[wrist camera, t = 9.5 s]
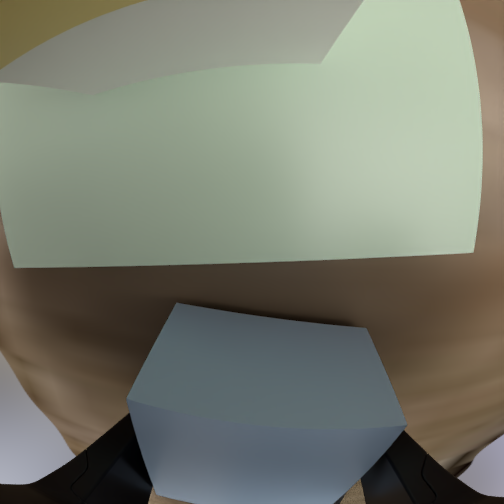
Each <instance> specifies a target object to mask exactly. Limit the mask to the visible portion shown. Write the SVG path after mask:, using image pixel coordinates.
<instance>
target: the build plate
mask: <svg viewBox="0 0 504 504" xmlns="http://www.w3.org/2000/svg"><path fill="white" fill-rule="evenodd" d="M482 160H483V142H482V118H481V105H480V95H479V86H478V79H477V72H476V66H475V60H474V55H473V50H472V45H471V41H470V36H469V32H468V28H467V24H466V21H465V17H464V14H463V10H462V7H461V4H460V1H459V0H364V1H363V2H362V4H361V5H360V6H359V8H358V9H357V11H356V12H355V14H354V15H353V16H352V18H351V19H350V21H349V22H348V24H347V25H346V27H345V28H344V29H343V31H342V32H341V34H340V35H339V37H338V38H337V40H336V41H335V43H334V44H333V46H332V47H331V49H330V50H329V52H328V53H327V55H326V56H325V58H324V59H323V61H322V62H321V64H307V63H282V64H256V65H242V66H230V67H221V68H212V69H205V70H198V71H191V72H185V73H179V74H174V75H168V76H163V77H159V78H154V79H149V80H145V81H141V82H137V83H133V84H129V85H125V86H121V87H118V88H114V89H111V90H107V91H104V92H101V93H98V94H94V95H89V94H84V93H79V92H73V91H67V90H61V89H55V88H48V87H41V86H33V85H24V84H14V83H2V82H0V210H1V215H2V221H3V225H4V230H5V235H6V239H7V243H8V247H9V251H10V255H11V258H12V262H13V265H14V268H50V267H109V266H154V265H191V264H225V263H255V262H284V261H310V260H335V259H358V258H380V257H401V256H422V255H441V254H459V253H473V251H474V246H475V240H476V233H477V226H478V218H479V209H480V199H481V186H482Z"/></svg>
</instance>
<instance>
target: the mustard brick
mask: <svg viewBox="0 0 504 504" xmlns="http://www.w3.org/2000/svg"><path fill="white" fill-rule="evenodd" d="M142 1H146V0H0V70H1V69H2V68H4V67H5V66H6V65H8V64H9V63H11V62H12V61H14V60H15V59H17V58H19V57H20V56H22V55H23V54H25V53H27V52H28V51H30V50H32V49H33V48H35V47H37V46H38V45H40V44H42V43H44V42H46V41H47V40H49V39H51V38H53V37H55V36H57V35H59V34H61V33H63V32H65V31H67V30H69V29H71V28H73V27H75V26H78V25H80V24H82V23H84V22H87V21H89V20H91V19H94V18H96V17H99V16H101V15H104V14H107V13H109V12H112V11H115V10H118V9H120V8H123V7H126V6H129V5H133V4H136V3H139V2H142Z"/></svg>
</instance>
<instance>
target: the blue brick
mask: <svg viewBox="0 0 504 504" xmlns="http://www.w3.org/2000/svg"><path fill="white" fill-rule="evenodd" d="M126 400H127V404H128V408H129V412H130V416H131V419H132V423H133V427H134V430H135V434H136V437H137V440H138V444H139V447H140V450H141V453H142V456H143V459H144V462H145V465H146V468H147V471H148V474H149V476H150V479H151V482H152V484H153V487H154V489H155V492H156V495H159V496H163V497H167V498H171V499H176V500H180V501H185V502H190V503H195V504H333V503H335V502H336V501H337V500H338V499H339V498H340V497H341V496H342V495H343V494H345V493H346V492H347V491H348V490H349V489H350V488H351V487H352V486H353V485H354V484H355V483H356V482H357V481H358V480H359V479H360V478H361V477H362V476H363V475H364V474H365V473H366V472H367V471H368V470H369V469H370V468H371V467H372V466H373V465H374V464H375V463H376V462H377V461H378V459H379V458H380V457H381V456H382V455H383V454H384V453H385V452H386V450H387V449H388V448H389V447H390V446H391V445H392V443H393V442H394V441H395V440H396V439H397V437H398V436H399V435H400V434H401V432H402V431H403V430H404V429H405V427H406V426H407V422H406V420H405V417H404V415H403V412H402V410H401V407H400V405H399V402H398V400H397V397H396V395H395V392H394V390H393V387H392V385H391V383H390V380H389V378H388V375H387V373H386V371H385V368H384V366H383V364H382V362H381V359H380V357H379V355H378V353H377V350H376V348H375V346H374V344H373V342H372V339H371V337H370V335H369V333H368V331H367V329H366V328H360V327H349V326H338V325H328V324H319V323H310V322H301V321H293V320H285V319H277V318H269V317H262V316H255V315H248V314H241V313H235V312H228V311H222V310H216V309H210V308H204V307H198V306H193V305H187V304H182V303H176V304H175V306H174V308H173V310H172V312H171V314H170V315H169V317H168V319H167V321H166V323H165V325H164V327H163V328H162V330H161V332H160V334H159V336H158V338H157V340H156V342H155V343H154V345H153V347H152V349H151V351H150V353H149V355H148V357H147V359H146V361H145V363H144V365H143V366H142V368H141V370H140V372H139V374H138V376H137V378H136V380H135V382H134V384H133V386H132V388H131V390H130V392H129V394H128V396H127V398H126Z"/></svg>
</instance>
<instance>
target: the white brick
mask: <svg viewBox="0 0 504 504" xmlns="http://www.w3.org/2000/svg"><path fill="white" fill-rule="evenodd" d="M363 1H364V0H146V1H142V2H139V3H136V4H133V5H129V6H126V7H123V8H120V9H118V10H115V11H112V12H109V13H107V14H104V15H101V16H99V17H96V18H94V19H91V20H89V21H87V22H84V23H82V24H80V25H78V26H75V27H73V28H71V29H69V30H67V31H65V32H63V33H61V34H59V35H57V36H55V37H53V38H51V39H49V40H47V41H46V42H44V43H42V44H40V45H38V46H37V47H35V48H33V49H32V50H30V51H28V52H27V53H25V54H23V55H22V56H20V57H19V58H17V59H15V60H14V61H12V62H11V63H9V64H8V65H6V66H5V67H4V68H2V69H1V70H0V82H2V83H14V84H24V85H33V86H41V87H48V88H55V89H61V90H67V91H73V92H79V93H84V94H89V95H94V94H98V93H101V92H104V91H107V90H111V89H114V88H118V87H121V86H125V85H129V84H133V83H137V82H141V81H145V80H149V79H154V78H159V77H163V76H168V75H174V74H179V73H185V72H191V71H198V70H205V69H212V68H221V67H230V66H242V65H256V64H282V63H307V64H321V62H322V61H323V59H324V58H325V56H326V55H327V53H328V52H329V50H330V49H331V47H332V46H333V44H334V43H335V41H336V40H337V38H338V37H339V35H340V34H341V32H342V31H343V29H344V28H345V27H346V25H347V24H348V22H349V21H350V19H351V18H352V16H353V15H354V14H355V12H356V11H357V9H358V8H359V6H360V5H361V4H362V2H363Z"/></svg>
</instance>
